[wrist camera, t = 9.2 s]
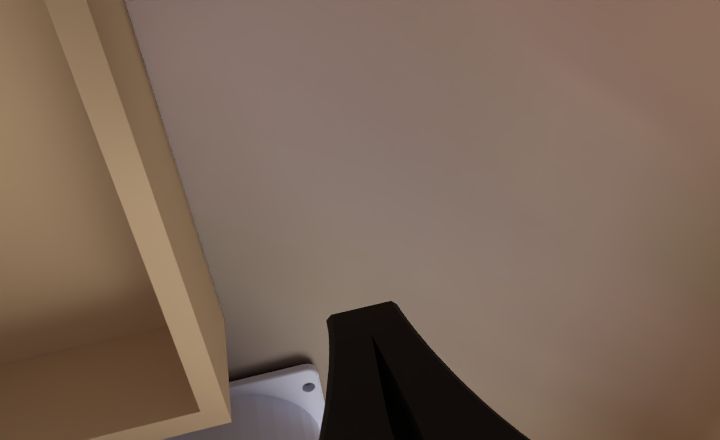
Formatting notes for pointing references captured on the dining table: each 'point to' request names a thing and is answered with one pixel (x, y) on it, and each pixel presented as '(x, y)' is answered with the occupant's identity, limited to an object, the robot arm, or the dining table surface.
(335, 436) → the robot arm
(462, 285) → the dining table surface
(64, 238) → the mailer box
